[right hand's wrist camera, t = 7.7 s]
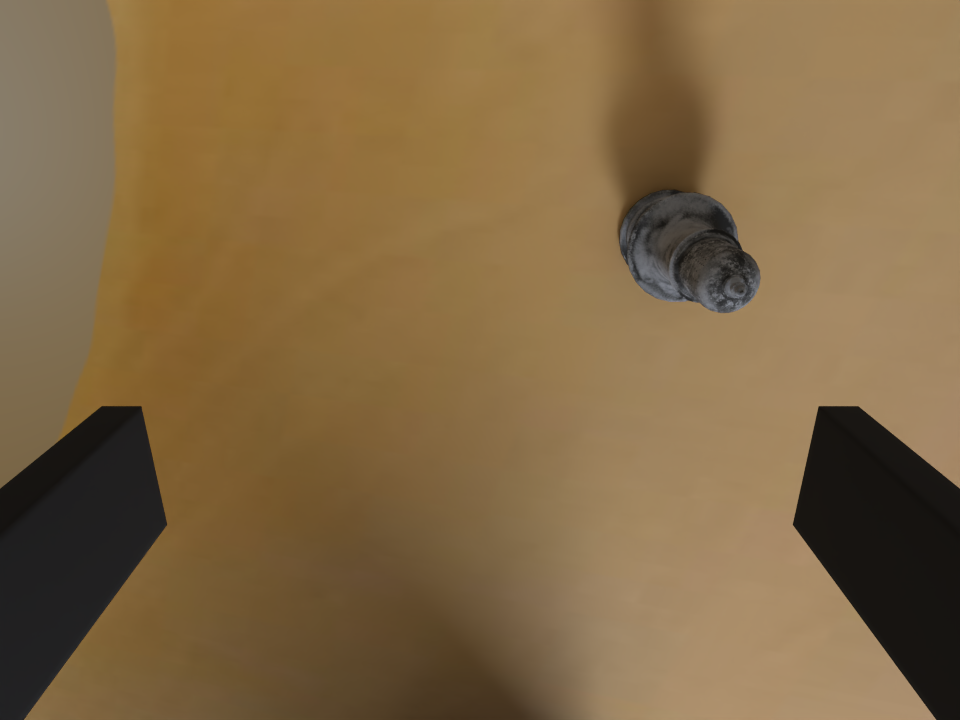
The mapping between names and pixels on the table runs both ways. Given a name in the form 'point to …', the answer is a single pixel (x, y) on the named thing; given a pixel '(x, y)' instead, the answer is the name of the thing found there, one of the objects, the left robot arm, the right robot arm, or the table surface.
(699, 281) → the grey tall stepped piece
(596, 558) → the table surface
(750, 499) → the table surface
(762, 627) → the table surface
